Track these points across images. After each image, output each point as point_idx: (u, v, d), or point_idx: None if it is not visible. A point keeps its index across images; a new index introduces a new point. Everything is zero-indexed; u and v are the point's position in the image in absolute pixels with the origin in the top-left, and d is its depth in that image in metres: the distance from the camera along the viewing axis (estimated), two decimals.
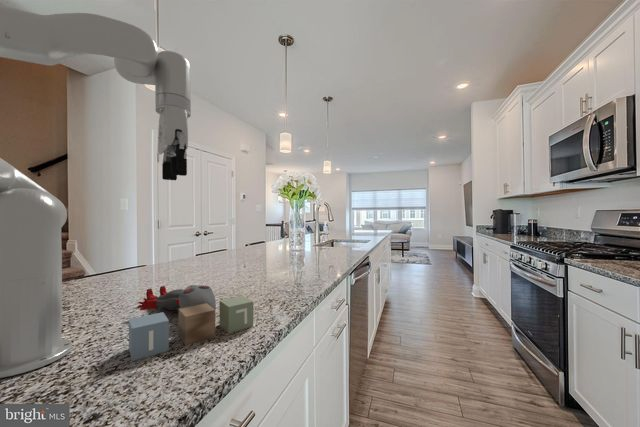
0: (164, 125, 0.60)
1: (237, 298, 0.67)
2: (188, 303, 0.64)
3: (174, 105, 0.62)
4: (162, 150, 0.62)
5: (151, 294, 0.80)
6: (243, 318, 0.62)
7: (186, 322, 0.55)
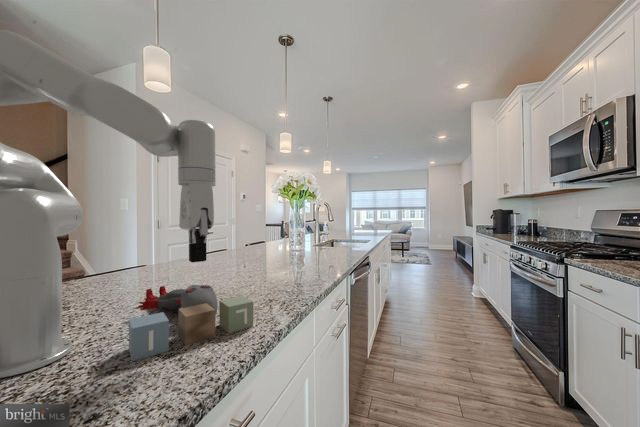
0: (188, 204, 0.55)
1: (237, 298, 0.67)
2: (190, 302, 0.64)
3: (199, 180, 0.56)
4: (185, 229, 0.57)
5: (151, 294, 0.80)
6: (243, 318, 0.62)
7: (186, 322, 0.55)
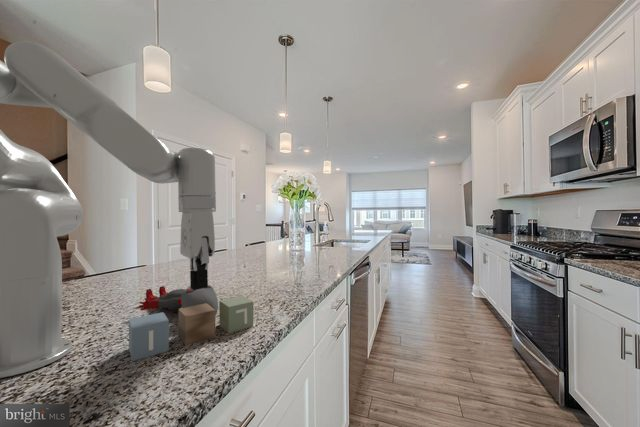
0: (189, 233, 0.54)
1: (237, 298, 0.67)
2: (190, 302, 0.64)
3: (199, 208, 0.56)
4: None
5: (151, 294, 0.80)
6: (243, 318, 0.62)
7: (186, 322, 0.55)
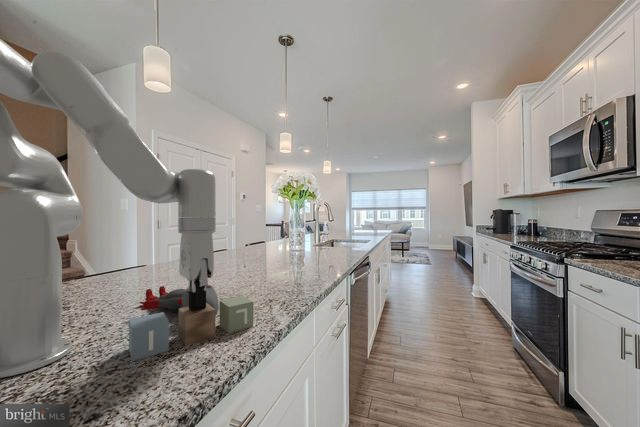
0: (188, 255, 0.54)
1: (237, 298, 0.67)
2: None
3: (199, 230, 0.56)
4: None
5: (151, 294, 0.80)
6: (243, 318, 0.62)
7: (186, 322, 0.55)
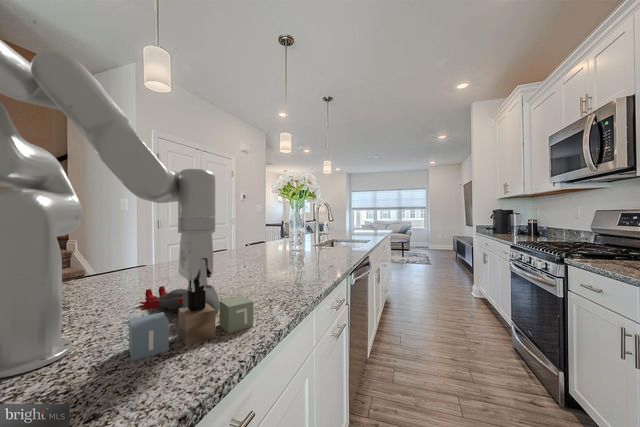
0: (188, 255, 0.54)
1: (237, 298, 0.67)
2: None
3: (199, 230, 0.56)
4: None
5: (150, 294, 0.80)
6: (243, 318, 0.62)
7: (186, 322, 0.55)
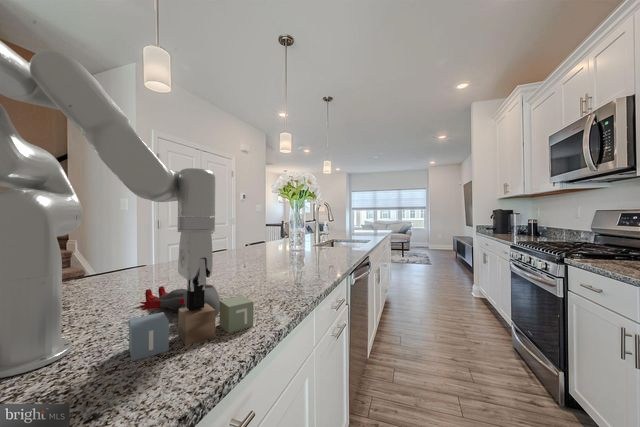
0: (187, 254, 0.54)
1: (237, 298, 0.67)
2: None
3: (198, 229, 0.56)
4: (184, 277, 0.56)
5: (150, 294, 0.80)
6: (243, 318, 0.62)
7: (186, 322, 0.55)
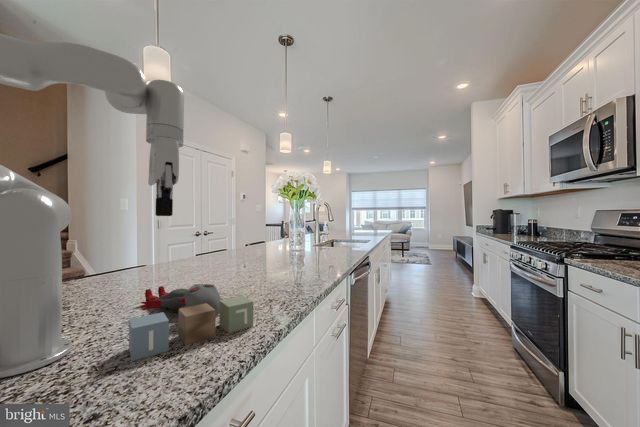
0: (154, 158, 0.57)
1: (237, 298, 0.67)
2: (195, 301, 0.65)
3: (165, 136, 0.59)
4: (152, 183, 0.59)
5: (150, 294, 0.80)
6: (243, 318, 0.62)
7: (186, 322, 0.55)
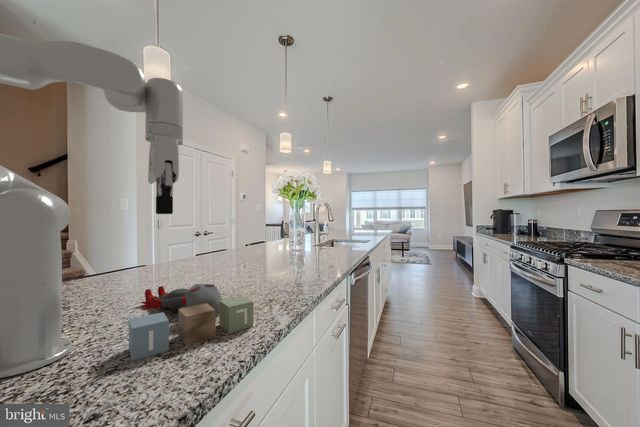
0: (153, 156, 0.58)
1: (237, 298, 0.67)
2: (196, 301, 0.65)
3: (164, 134, 0.59)
4: (152, 181, 0.60)
5: (150, 294, 0.80)
6: (243, 318, 0.62)
7: (186, 322, 0.55)
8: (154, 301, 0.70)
